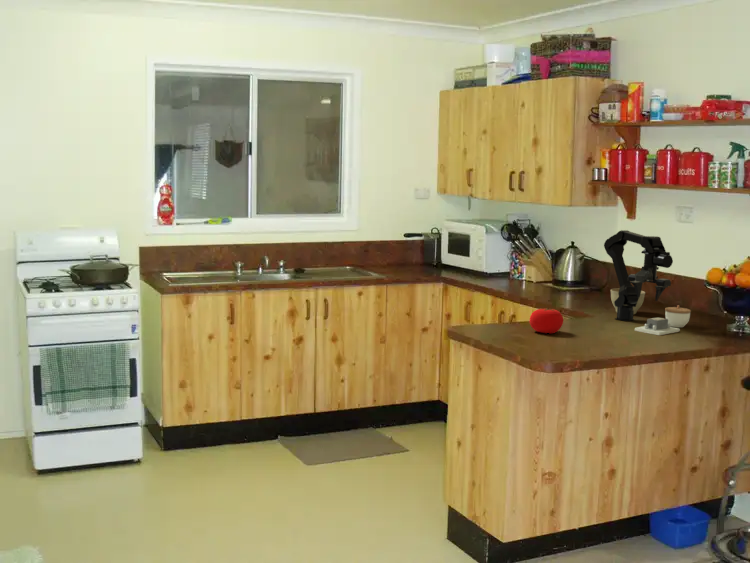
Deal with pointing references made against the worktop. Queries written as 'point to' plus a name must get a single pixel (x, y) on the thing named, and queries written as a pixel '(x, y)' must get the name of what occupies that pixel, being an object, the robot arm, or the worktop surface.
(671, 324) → the lidded jar
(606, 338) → the worktop surface
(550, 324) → the tomato
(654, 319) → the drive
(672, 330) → the white peg board
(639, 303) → the planter bowl
